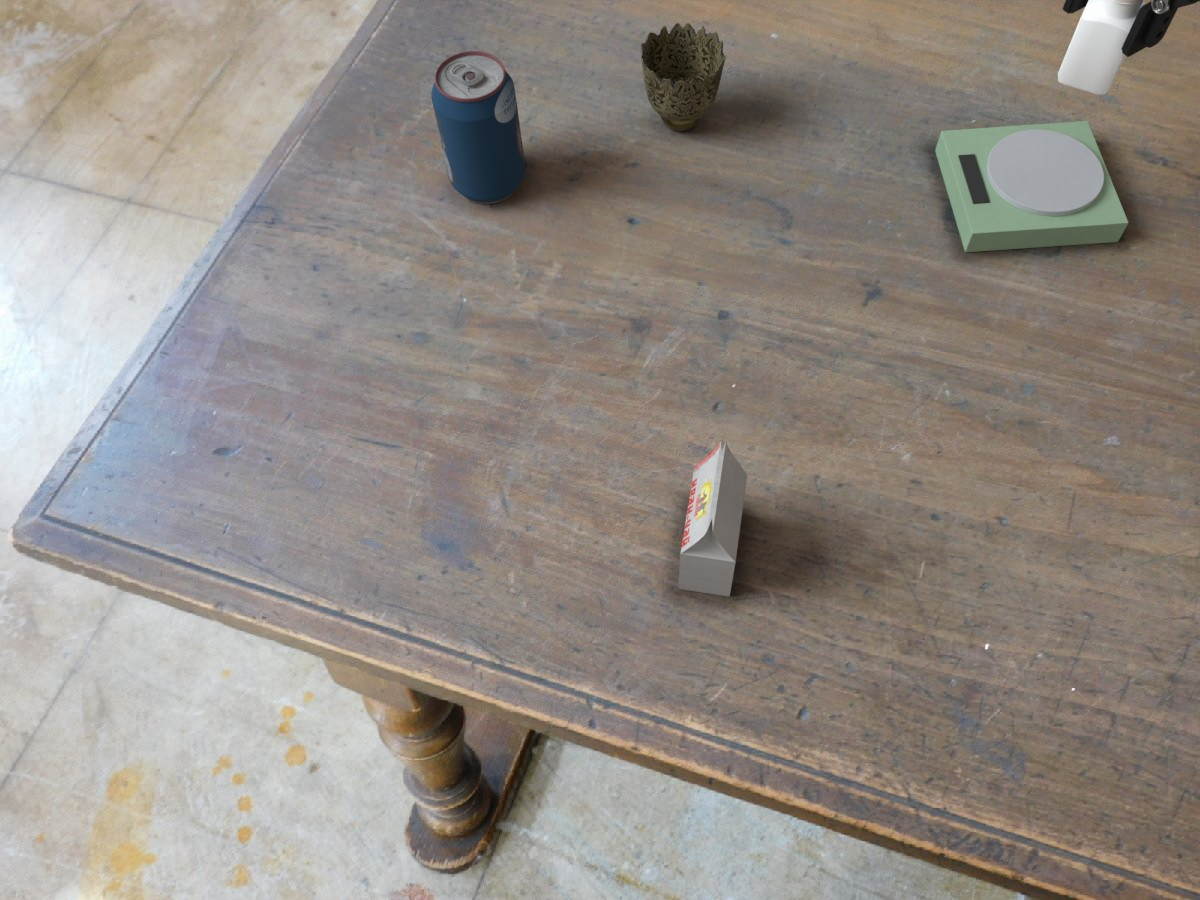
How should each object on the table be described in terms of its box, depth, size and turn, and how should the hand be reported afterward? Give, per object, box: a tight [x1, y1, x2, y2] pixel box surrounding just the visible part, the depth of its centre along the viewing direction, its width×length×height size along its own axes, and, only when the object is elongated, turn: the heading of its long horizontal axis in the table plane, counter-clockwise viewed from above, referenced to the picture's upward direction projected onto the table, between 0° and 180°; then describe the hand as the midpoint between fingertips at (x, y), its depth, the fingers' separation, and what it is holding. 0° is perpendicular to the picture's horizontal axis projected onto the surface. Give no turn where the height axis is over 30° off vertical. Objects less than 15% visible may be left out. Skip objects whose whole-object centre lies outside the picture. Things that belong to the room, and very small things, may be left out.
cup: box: [640, 22, 727, 132], centre depth 97 cm, size 8×7×8 cm
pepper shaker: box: [1057, 0, 1147, 96], centre depth 79 cm, size 4×4×10 cm
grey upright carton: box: [677, 440, 748, 597], centre depth 74 cm, size 4×7×10 cm, turn 169°
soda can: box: [430, 50, 526, 205], centre depth 92 cm, size 7×7×12 cm
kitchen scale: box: [934, 120, 1129, 253], centre depth 93 cm, size 13×12×3 cm
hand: (1109, 24), depth 79 cm, fingers closed on pepper shaker, 5 cm apart
